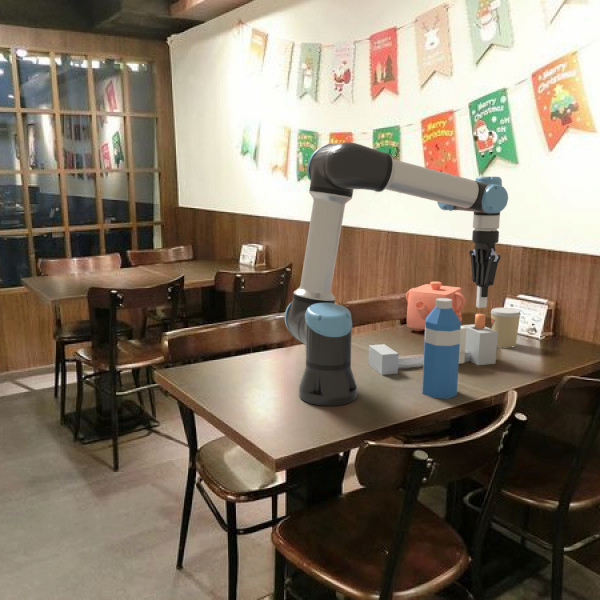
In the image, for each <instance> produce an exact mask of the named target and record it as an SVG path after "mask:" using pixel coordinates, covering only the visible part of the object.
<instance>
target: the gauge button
mask: <svg viewBox="0 0 600 600" xmlns="http://www.w3.org/2000/svg"><path fill="white" fill-rule="evenodd" d="M474 315H475V316H474V324H475V328H478V329H484V328H485V327H486V316H487V315H486V314H484V313H475V314H474Z"/></svg>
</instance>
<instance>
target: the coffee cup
mask: <svg viewBox="0 0 600 600" xmlns="http://www.w3.org/2000/svg"><path fill="white" fill-rule="evenodd" d="M520 311H521V310H519V309H516V308H513V307H504V306H503V307H494V308H492V309H491V311H490V314H491V316H490V317H491V318H490V319H491V321H490V324H491V325H490V326H491V327H490V329H492V330H495V331H497V332H498V335H497V346H500V347H512V346H515V347H516V345H517V344H516V343H517V338H518V333H519V332H518V331H519V325H520V317H521V312H520ZM500 347H499V348H500Z"/></svg>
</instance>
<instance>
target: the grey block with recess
mask: <svg viewBox="0 0 600 600" xmlns="http://www.w3.org/2000/svg"><path fill="white" fill-rule="evenodd" d="M461 326H463V327H465V328H466V342H465V350H467V351H469V352H470V362H471V363H473V364H475V365H477V366H486V365H494V364H496V362H497V348H498V347H497V335H498V332H497V331H495V330H492V329H491V327H487V326H485V328H484V329H478V328H475V323H474V324H473V323H472V324H463V325H462V324H461Z"/></svg>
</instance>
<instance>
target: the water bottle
mask: <svg viewBox="0 0 600 600" xmlns="http://www.w3.org/2000/svg"><path fill="white" fill-rule="evenodd" d="M461 326H462V322H460V320H459V318H458V317H457V315H456V314H455V312H454V310H453V309H452V299H448V298H438V299H436V306H435V308H434V309H433V310H432V311H431V312H430V314H429V315H428V316H427V317H426V319H425V330H424V342H423V343H424V345H423V347H424V348H423V354H424V365H423V366H422V367H423V371H422V395H426V396H428V397H430V398H433V399H450V398H453V397H456V396H458V380H459V379H458V378H459V365H460V364H459V347H460V329H461Z"/></svg>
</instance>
